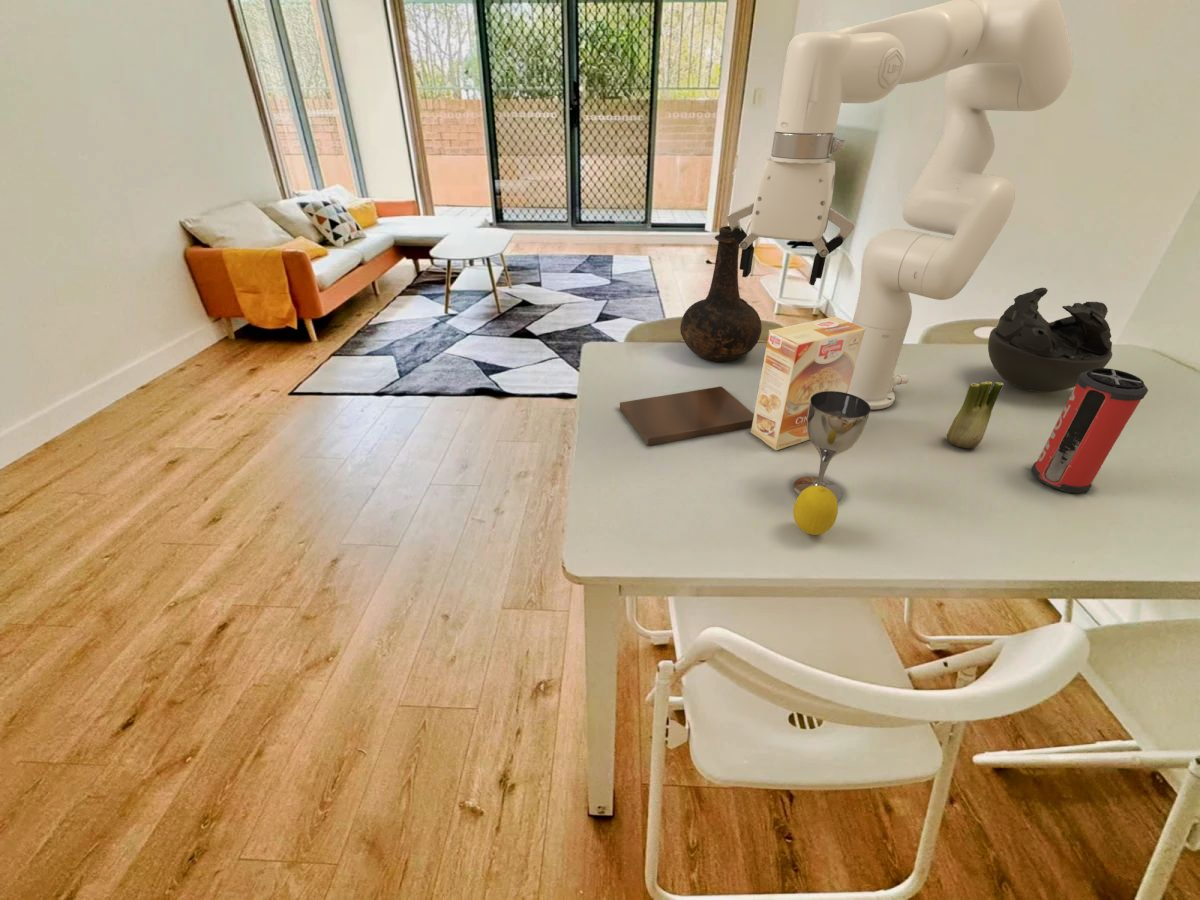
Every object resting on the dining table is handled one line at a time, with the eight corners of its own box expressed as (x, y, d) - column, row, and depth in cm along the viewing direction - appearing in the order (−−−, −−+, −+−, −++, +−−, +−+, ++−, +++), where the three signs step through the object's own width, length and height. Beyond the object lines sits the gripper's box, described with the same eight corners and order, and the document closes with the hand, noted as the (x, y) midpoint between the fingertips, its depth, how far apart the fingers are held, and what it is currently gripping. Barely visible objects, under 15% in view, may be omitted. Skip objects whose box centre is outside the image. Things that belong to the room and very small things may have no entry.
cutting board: (720, 392, 114) (721, 386, 113) (758, 425, 103) (759, 418, 102) (619, 409, 108) (619, 402, 107) (647, 446, 97) (647, 438, 96)
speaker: (1091, 500, 84) (1156, 393, 74) (1030, 484, 88) (1085, 380, 78) (1086, 475, 90) (1146, 372, 80) (1029, 461, 93) (1080, 361, 83)
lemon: (832, 549, 75) (847, 502, 71) (790, 543, 76) (801, 496, 72) (827, 523, 80) (840, 477, 75) (787, 518, 81) (797, 472, 76)
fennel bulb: (977, 440, 98) (1004, 378, 92) (983, 455, 95) (1011, 391, 88) (940, 435, 100) (964, 373, 94) (945, 449, 96) (970, 386, 90)
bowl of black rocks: (1104, 417, 106) (1158, 321, 95) (984, 401, 111) (1023, 308, 101) (1067, 374, 122) (1111, 288, 111) (964, 362, 127) (996, 278, 117)
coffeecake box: (776, 451, 95) (798, 344, 85) (748, 432, 101) (766, 329, 90) (839, 431, 101) (867, 327, 91) (810, 414, 106) (833, 314, 96)
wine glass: (783, 476, 89) (801, 392, 81) (831, 473, 90) (854, 390, 82) (802, 507, 83) (824, 419, 75) (854, 504, 83) (881, 416, 75)
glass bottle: (770, 353, 131) (793, 227, 116) (728, 377, 120) (747, 241, 105) (707, 334, 141) (720, 215, 126) (663, 354, 130) (671, 227, 115)
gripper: (873, 148, 74) (842, 279, 83) (742, 144, 80) (727, 266, 89) (871, 153, 68) (838, 293, 77) (730, 148, 74) (715, 278, 83)
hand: (778, 278), depth 83 cm, fingers open, 9 cm apart
